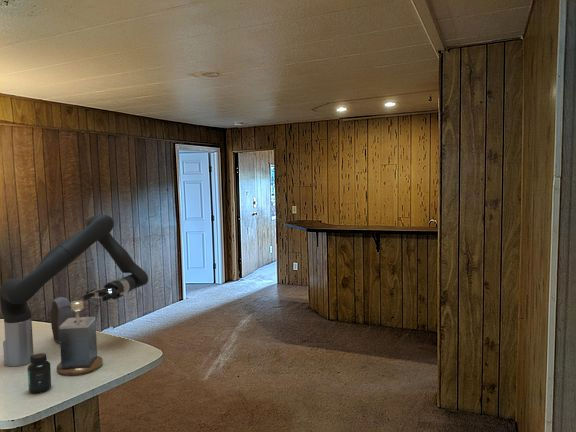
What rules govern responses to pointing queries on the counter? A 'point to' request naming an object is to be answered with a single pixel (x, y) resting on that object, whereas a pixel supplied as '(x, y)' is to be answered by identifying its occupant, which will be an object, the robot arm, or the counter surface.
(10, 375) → the counter surface
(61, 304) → the soft grey pack
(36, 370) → the supplement bottle
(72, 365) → the square holed block
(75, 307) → the plunger
